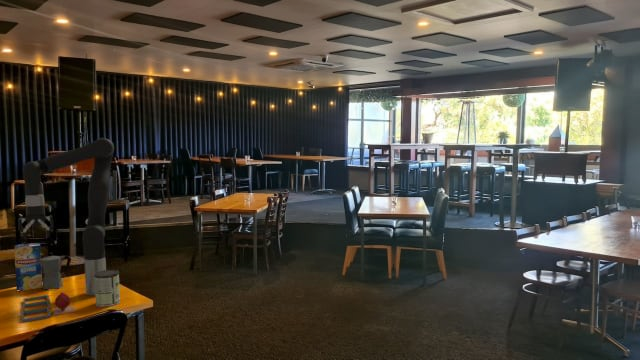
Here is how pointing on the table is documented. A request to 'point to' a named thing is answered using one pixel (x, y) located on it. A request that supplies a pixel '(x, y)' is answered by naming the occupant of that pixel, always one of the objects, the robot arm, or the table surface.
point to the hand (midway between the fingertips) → (36, 239)
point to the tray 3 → (35, 313)
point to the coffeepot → (53, 270)
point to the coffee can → (107, 288)
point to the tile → (66, 310)
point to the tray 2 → (36, 305)
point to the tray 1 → (36, 298)
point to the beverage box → (28, 266)
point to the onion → (62, 301)
